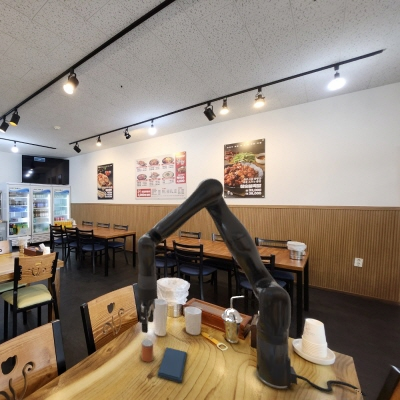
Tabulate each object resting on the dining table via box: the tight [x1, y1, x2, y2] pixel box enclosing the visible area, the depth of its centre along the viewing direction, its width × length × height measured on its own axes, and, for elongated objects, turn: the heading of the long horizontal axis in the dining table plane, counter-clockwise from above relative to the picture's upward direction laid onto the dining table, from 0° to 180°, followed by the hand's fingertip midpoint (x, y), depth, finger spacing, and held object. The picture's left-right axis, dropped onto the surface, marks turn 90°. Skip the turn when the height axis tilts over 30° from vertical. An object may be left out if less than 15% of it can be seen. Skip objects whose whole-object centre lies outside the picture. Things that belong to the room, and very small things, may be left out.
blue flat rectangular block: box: [157, 347, 187, 384], centre depth 86 cm, size 8×16×1 cm, turn 158°
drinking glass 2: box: [153, 298, 169, 337], centre depth 107 cm, size 7×7×15 cm
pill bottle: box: [140, 338, 154, 363], centre depth 90 cm, size 5×5×6 cm
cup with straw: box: [221, 295, 245, 344], centre depth 102 cm, size 8×9×20 cm
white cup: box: [184, 306, 203, 336], centre depth 109 cm, size 8×8×10 cm
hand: (147, 326), depth 90 cm, fingers open, 8 cm apart
